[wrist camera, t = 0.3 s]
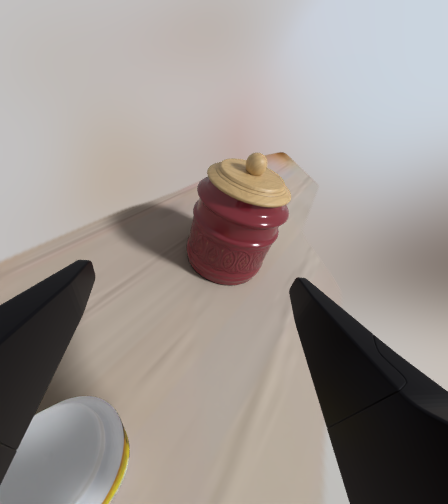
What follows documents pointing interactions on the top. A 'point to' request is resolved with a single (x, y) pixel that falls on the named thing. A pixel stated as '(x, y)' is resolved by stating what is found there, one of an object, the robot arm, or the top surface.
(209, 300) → the top surface
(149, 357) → the top surface
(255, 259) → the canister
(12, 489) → the supplement bottle
